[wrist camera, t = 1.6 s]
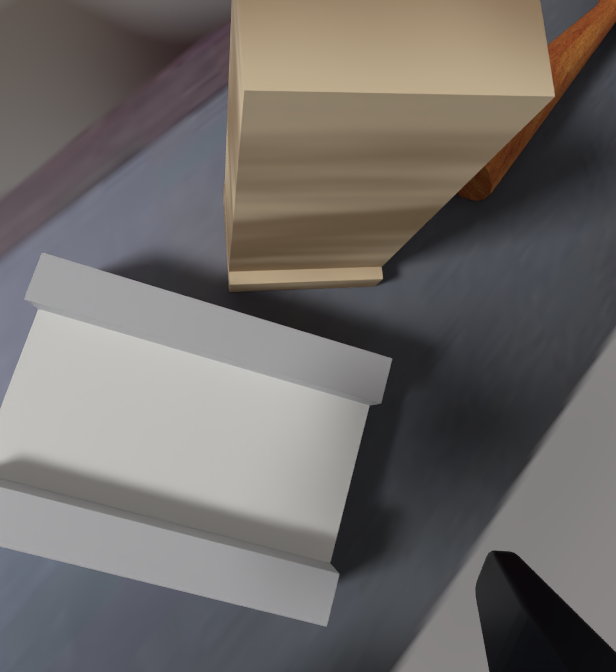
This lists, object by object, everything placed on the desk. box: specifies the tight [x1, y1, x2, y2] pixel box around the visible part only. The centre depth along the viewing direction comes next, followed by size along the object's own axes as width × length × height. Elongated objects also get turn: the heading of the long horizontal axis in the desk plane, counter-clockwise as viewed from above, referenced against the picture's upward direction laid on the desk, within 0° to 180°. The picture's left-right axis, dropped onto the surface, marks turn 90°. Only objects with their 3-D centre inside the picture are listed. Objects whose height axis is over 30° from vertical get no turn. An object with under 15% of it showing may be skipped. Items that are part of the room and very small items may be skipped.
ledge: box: [0, 253, 392, 627], centre depth 20 cm, size 9×12×4 cm
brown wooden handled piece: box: [457, 0, 616, 201], centre depth 25 cm, size 6×6×20 cm
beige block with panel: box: [223, 0, 555, 292], centre depth 17 cm, size 4×6×13 cm, turn 95°
